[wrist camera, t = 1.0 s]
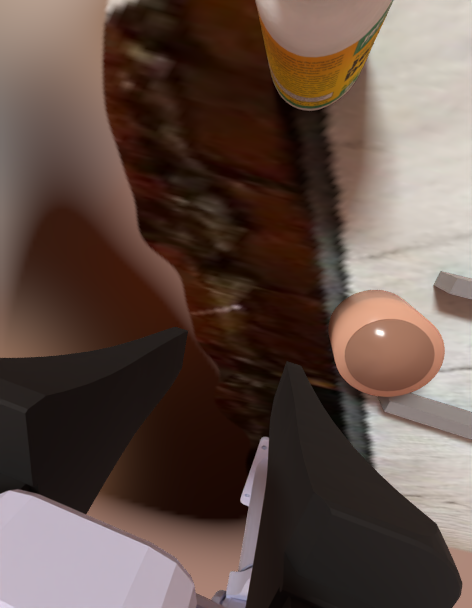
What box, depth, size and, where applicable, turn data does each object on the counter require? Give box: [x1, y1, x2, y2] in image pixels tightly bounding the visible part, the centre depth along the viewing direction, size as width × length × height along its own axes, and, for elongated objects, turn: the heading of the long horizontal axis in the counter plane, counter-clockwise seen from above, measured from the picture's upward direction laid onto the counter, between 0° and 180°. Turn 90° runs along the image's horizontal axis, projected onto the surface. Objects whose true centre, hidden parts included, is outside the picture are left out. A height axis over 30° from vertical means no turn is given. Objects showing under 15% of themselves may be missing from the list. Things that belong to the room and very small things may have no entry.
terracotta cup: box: [328, 290, 445, 397], centre depth 18 cm, size 6×6×4 cm
